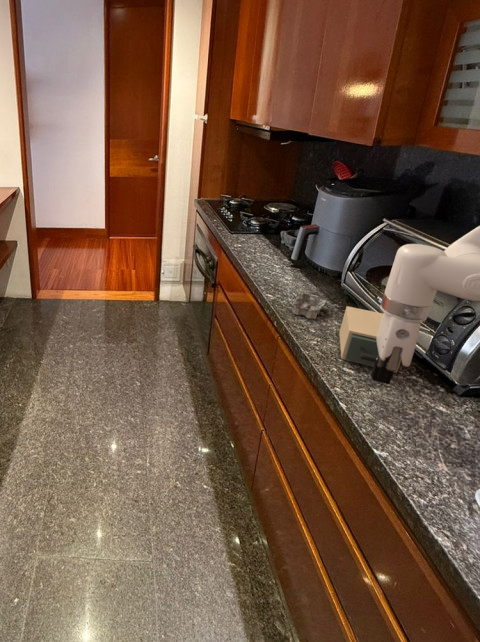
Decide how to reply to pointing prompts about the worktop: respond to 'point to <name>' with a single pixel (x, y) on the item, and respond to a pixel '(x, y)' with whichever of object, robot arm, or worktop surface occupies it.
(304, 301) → the egg carton
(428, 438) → the worktop surface
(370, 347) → the green-fronted drawer
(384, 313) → the robot arm
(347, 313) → the wooden drawer box
